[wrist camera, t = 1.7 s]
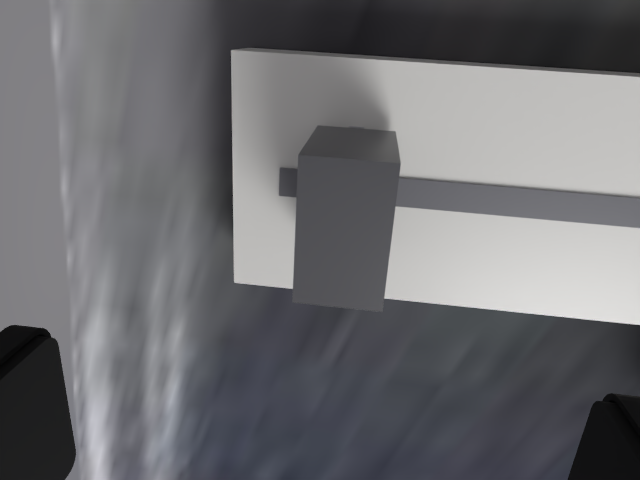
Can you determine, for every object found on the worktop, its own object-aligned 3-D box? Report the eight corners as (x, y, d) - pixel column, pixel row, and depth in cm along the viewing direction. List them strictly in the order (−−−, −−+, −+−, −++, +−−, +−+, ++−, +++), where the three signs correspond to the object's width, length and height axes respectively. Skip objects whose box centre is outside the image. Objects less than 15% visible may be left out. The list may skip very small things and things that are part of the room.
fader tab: (317, 125, 19) (298, 154, 14) (395, 131, 19) (400, 163, 14) (311, 243, 21) (292, 302, 16) (381, 250, 21) (382, 312, 16)
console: (249, 47, 21) (230, 49, 19) (897, 90, 19) (986, 100, 17) (249, 255, 25) (233, 283, 23) (788, 309, 23) (845, 347, 20)
